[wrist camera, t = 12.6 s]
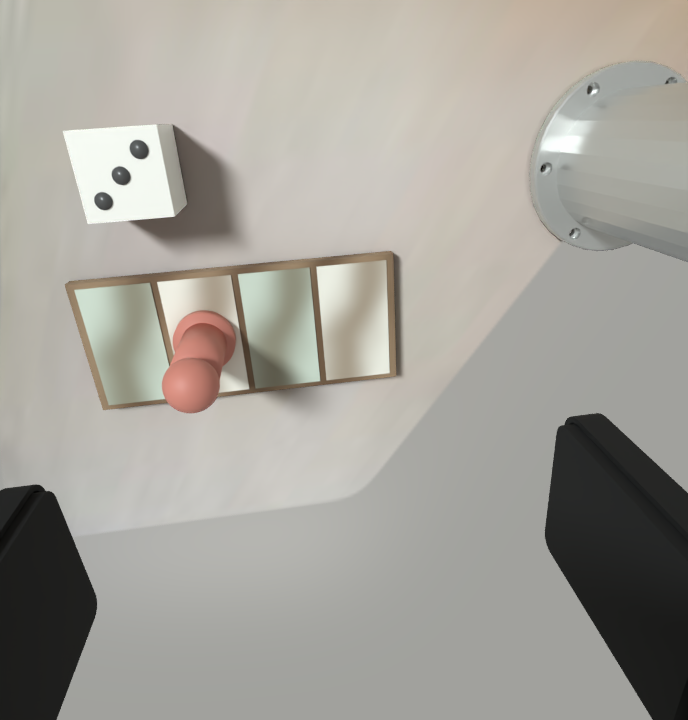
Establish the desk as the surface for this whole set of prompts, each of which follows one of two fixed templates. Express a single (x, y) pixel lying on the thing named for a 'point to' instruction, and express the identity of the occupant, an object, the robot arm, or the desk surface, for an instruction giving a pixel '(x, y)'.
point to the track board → (243, 324)
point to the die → (127, 172)
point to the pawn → (198, 361)
